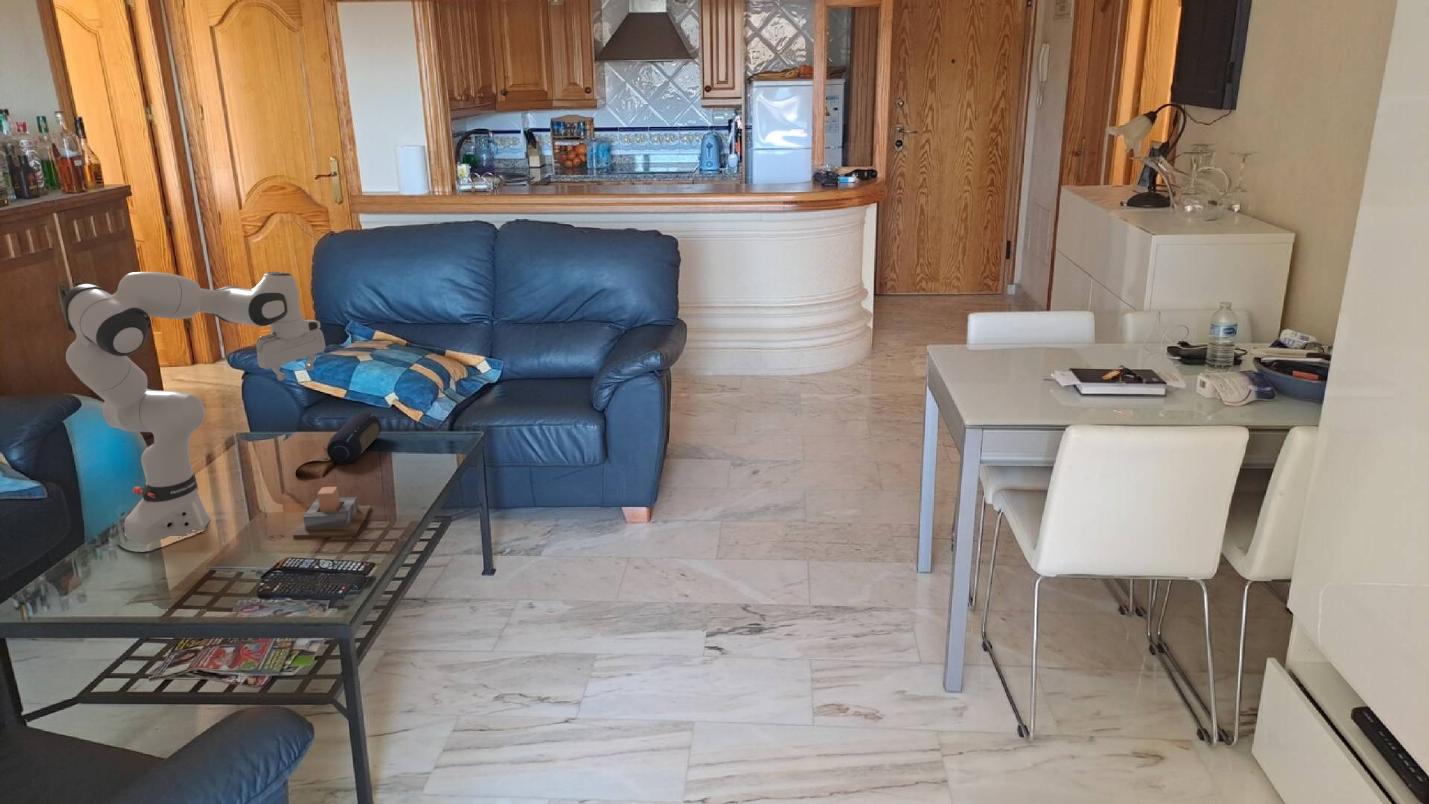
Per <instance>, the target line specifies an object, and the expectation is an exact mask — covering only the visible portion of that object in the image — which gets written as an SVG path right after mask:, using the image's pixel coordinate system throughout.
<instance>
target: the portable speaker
mask: <svg viewBox="0 0 1429 804" xmlns="http://www.w3.org/2000/svg"><path fill="white" fill-rule="evenodd" d="M381 431H382V425H381V421H380V420H379V418H378V417H377V415H375V414H373V413H372V412H370V411H369V412H367V411H361V412H359V413H357V414H355V415H354V416H353V417H352V418H351V419H350V420H349V421H347V422H346V423H344V425H343V426H342V427H341V428H340V429H339V430H337V432H336V433H334V435H332V437H331V438H330V439H329V442H328V443H327V446H326V448H327V453H328V456H329V457H330V458H331V459H332V460H333V461H335V462H336V464H341V465H342V464H343V465H344V464H348V463H349V464H350V463H352V462H354V461H356V460H357V459H358V458H360V457H361V454H363V452H364V451H366V449H367V448H369V446H370V445H371V444H372V443H373V442H374V441H375V440H376V439H377V438H378V437H379V435H380V434H381Z"/></svg>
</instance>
